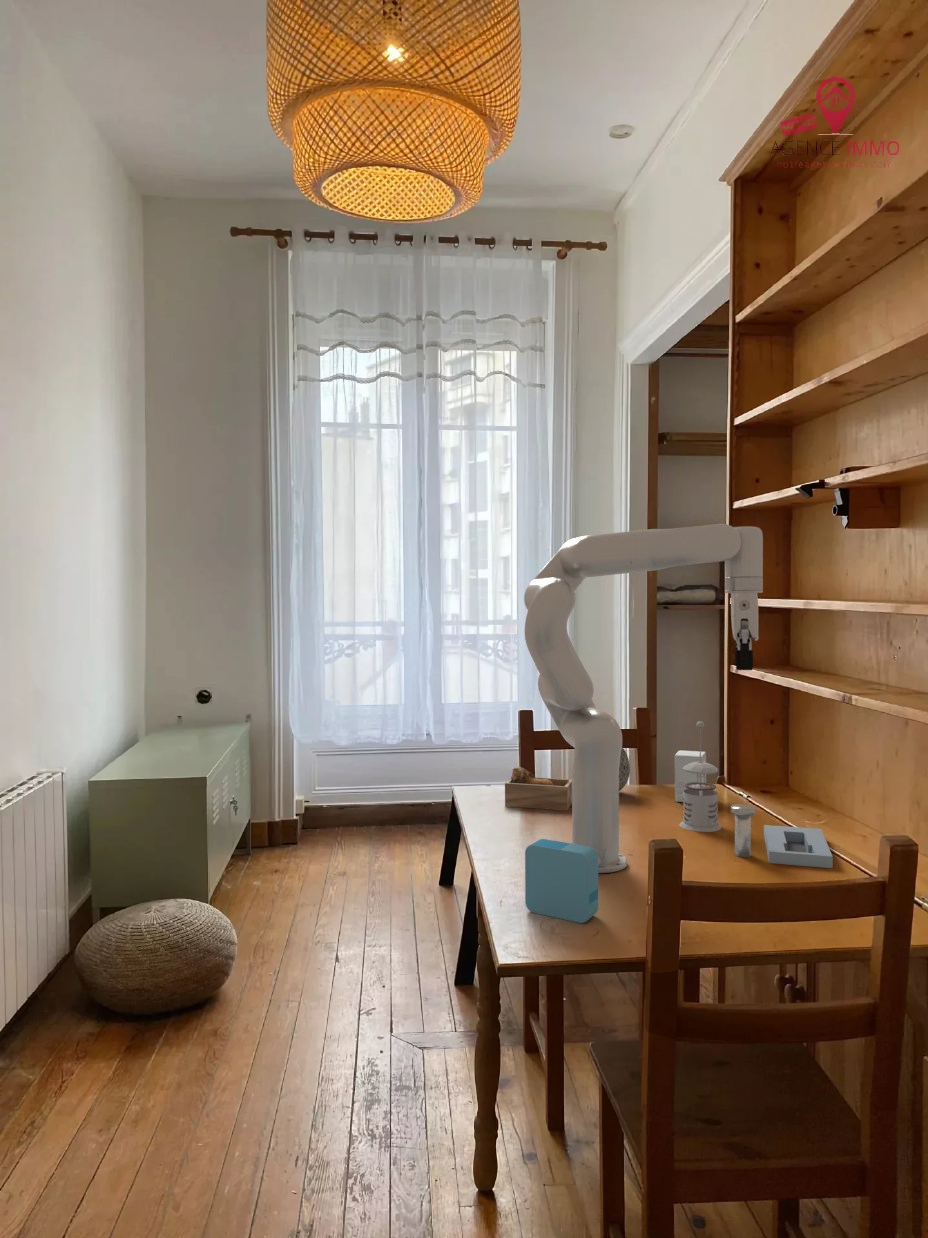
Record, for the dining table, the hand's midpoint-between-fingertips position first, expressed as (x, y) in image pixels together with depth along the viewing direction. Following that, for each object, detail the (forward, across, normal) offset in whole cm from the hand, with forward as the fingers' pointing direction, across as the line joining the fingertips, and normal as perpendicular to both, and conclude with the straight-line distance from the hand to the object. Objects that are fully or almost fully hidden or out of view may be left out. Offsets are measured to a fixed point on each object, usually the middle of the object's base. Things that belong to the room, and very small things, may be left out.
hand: (743, 667), depth 174 cm
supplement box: (+40, +45, +12) cm, 61 cm away
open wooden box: (+40, +30, +50) cm, 71 cm away
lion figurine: (+40, +30, +52) cm, 71 cm away
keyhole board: (+40, +6, -11) cm, 42 cm away
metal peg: (+40, 0, 0) cm, 40 cm away
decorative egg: (+40, +46, +34) cm, 70 cm away
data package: (+40, -42, +31) cm, 66 cm away
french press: (+40, +21, +9) cm, 46 cm away
